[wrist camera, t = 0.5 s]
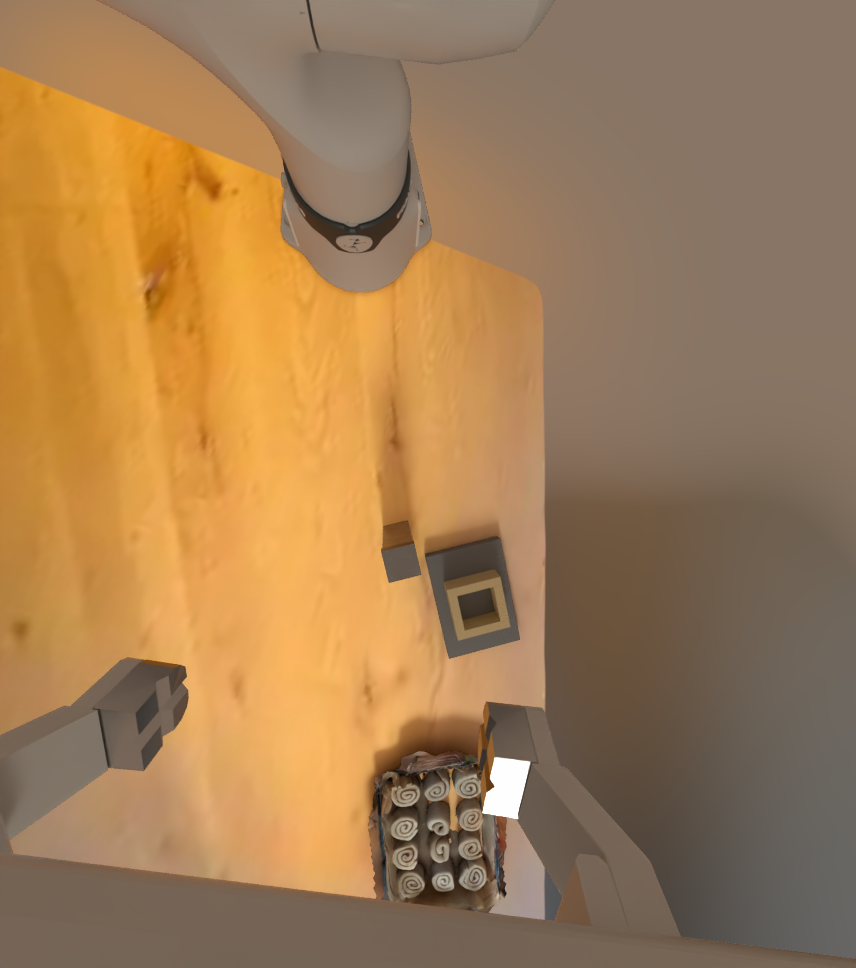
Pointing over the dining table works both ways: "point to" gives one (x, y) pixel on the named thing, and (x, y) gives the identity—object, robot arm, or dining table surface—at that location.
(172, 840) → the dining table surface
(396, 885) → the baking tray
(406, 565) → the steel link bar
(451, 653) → the keeper plate
